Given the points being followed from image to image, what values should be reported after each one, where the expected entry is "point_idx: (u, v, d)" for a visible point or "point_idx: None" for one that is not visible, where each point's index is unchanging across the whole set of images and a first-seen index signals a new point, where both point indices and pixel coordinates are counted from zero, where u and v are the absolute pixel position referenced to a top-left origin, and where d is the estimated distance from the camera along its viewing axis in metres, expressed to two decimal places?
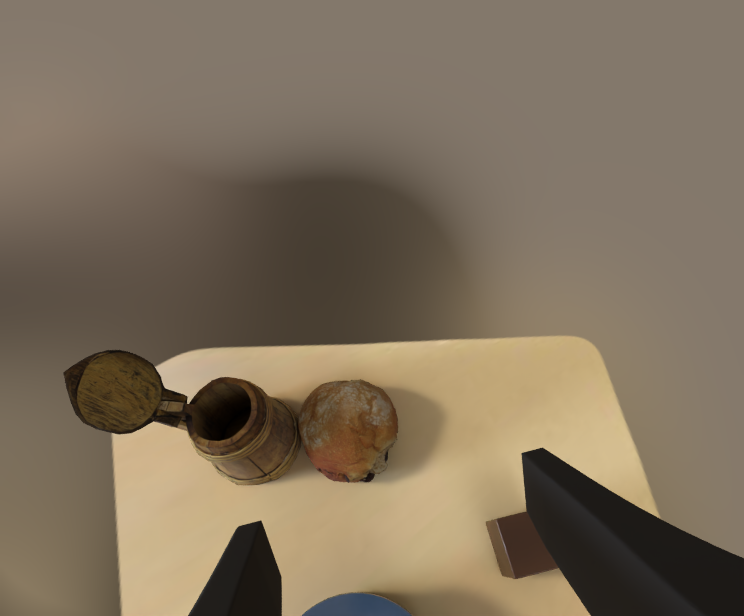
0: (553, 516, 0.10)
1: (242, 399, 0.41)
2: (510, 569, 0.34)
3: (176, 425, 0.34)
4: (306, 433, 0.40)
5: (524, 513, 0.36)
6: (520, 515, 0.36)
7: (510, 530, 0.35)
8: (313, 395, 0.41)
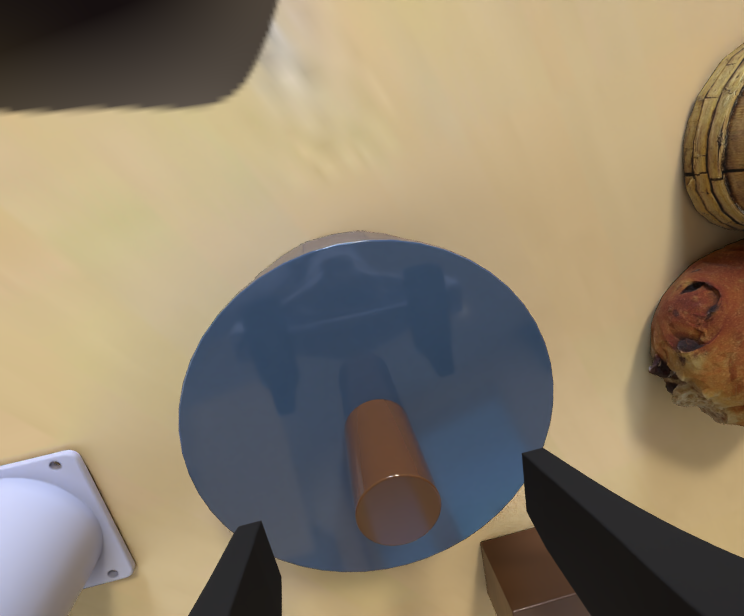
0: (553, 516, 0.10)
1: None
2: (519, 598, 0.22)
3: None
4: None
5: None
6: None
7: (573, 607, 0.22)
8: None
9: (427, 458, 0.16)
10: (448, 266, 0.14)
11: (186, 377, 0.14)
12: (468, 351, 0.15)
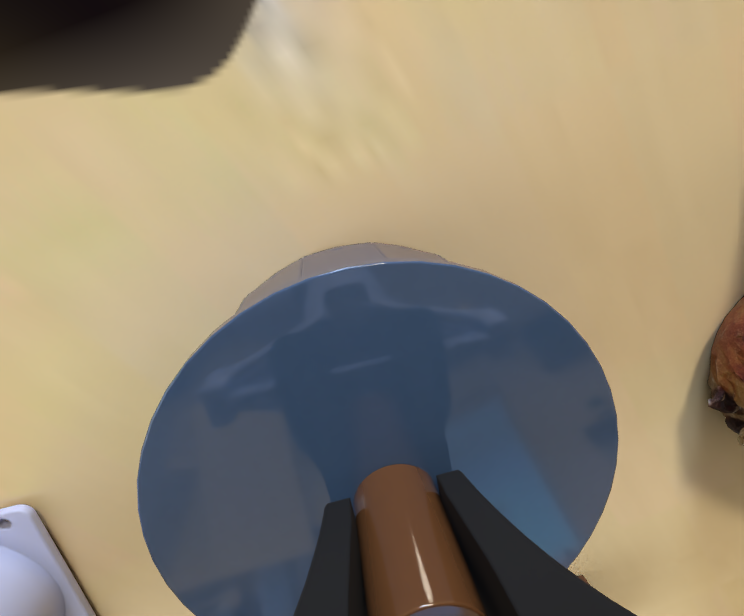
0: (459, 542, 0.10)
1: None
2: None
3: None
4: None
5: None
6: None
7: None
8: None
9: None
10: (492, 295, 0.10)
11: (146, 442, 0.10)
12: (514, 402, 0.11)
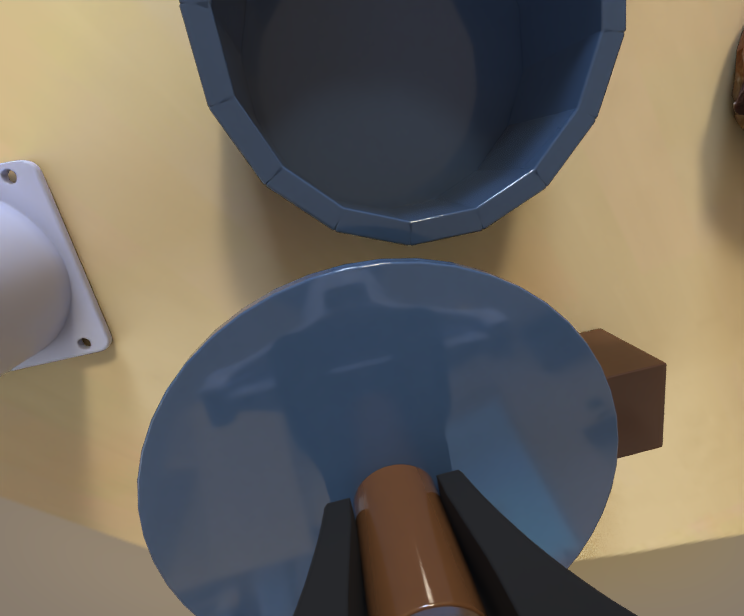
0: (459, 542, 0.10)
1: None
2: None
3: None
4: None
5: (662, 413, 0.19)
6: (662, 406, 0.19)
7: (643, 386, 0.18)
8: None
9: None
10: (492, 295, 0.10)
11: (146, 442, 0.10)
12: (514, 403, 0.11)
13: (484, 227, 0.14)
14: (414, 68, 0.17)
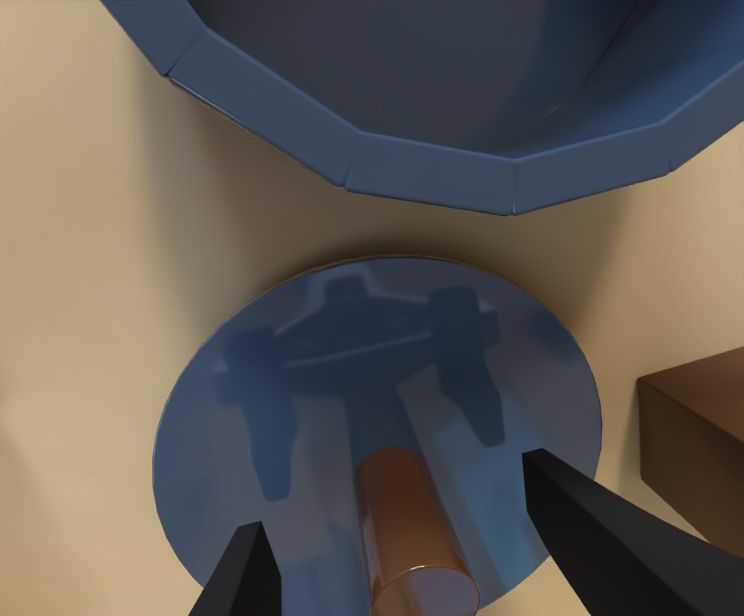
0: (553, 516, 0.10)
1: None
2: None
3: None
4: None
5: None
6: None
7: None
8: None
9: (451, 513, 0.13)
10: (481, 288, 0.11)
11: (160, 424, 0.11)
12: (503, 389, 0.12)
13: (674, 167, 0.06)
14: None
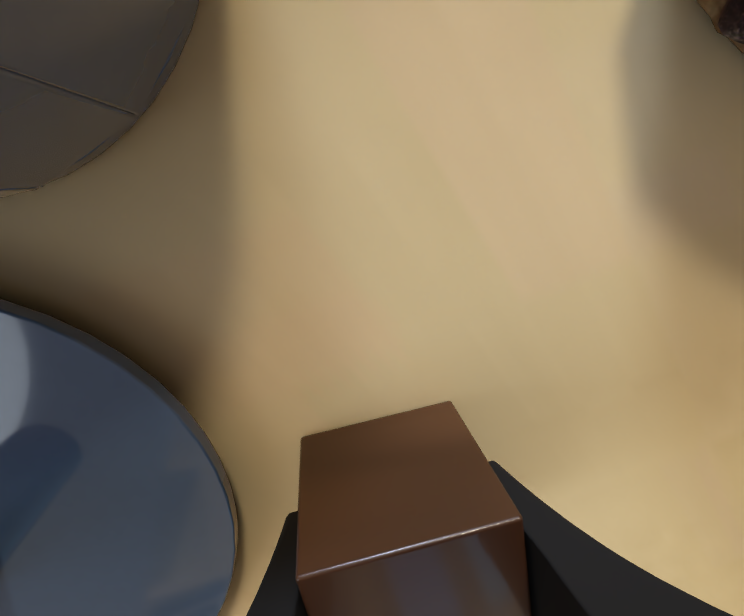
0: None
1: None
2: (329, 544, 0.08)
3: None
4: None
5: (527, 612, 0.09)
6: (524, 599, 0.09)
7: (475, 568, 0.08)
8: None
9: (42, 598, 0.11)
10: None
11: None
12: (71, 454, 0.10)
13: None
14: None
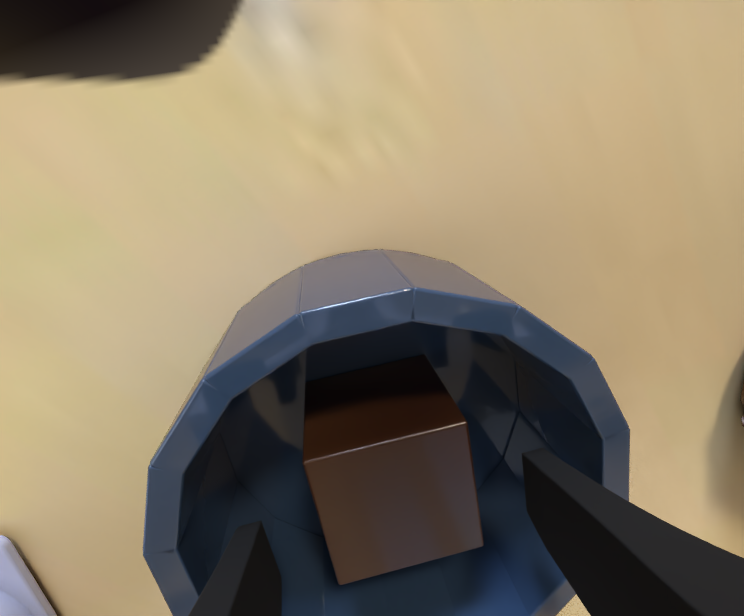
0: (553, 516, 0.10)
1: None
2: (326, 443, 0.11)
3: None
4: None
5: (474, 498, 0.12)
6: (472, 487, 0.12)
7: (432, 459, 0.11)
8: None
9: None
10: None
11: None
12: None
13: None
14: None
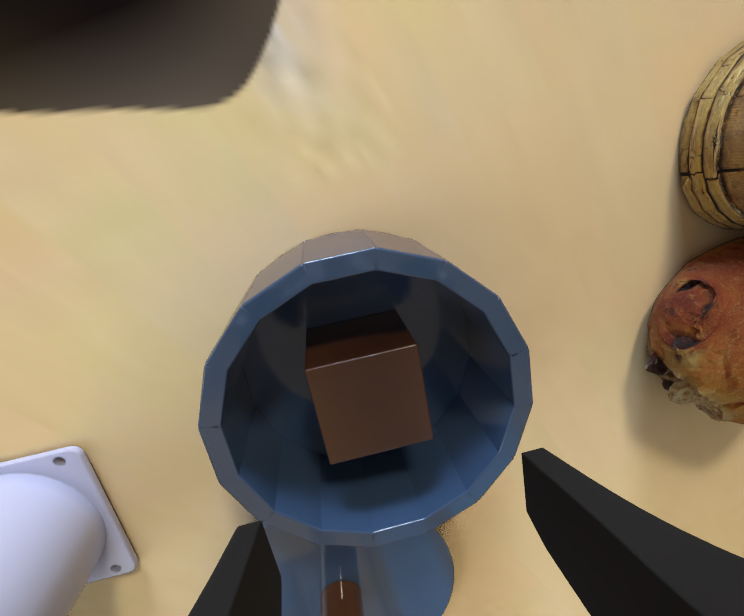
0: (553, 516, 0.10)
1: None
2: (321, 360, 0.16)
3: None
4: None
5: (425, 401, 0.17)
6: (422, 393, 0.17)
7: (394, 371, 0.16)
8: None
9: (372, 611, 0.25)
10: None
11: None
12: (399, 553, 0.24)
13: (430, 530, 0.18)
14: None
